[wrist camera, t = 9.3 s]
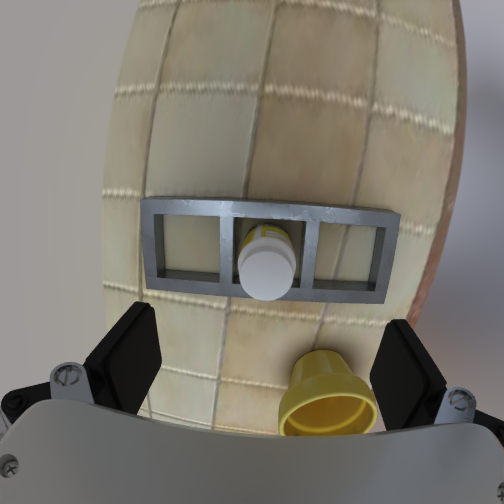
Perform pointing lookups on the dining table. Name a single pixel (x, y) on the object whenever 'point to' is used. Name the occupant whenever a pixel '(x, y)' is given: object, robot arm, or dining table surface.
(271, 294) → the supplement bottle
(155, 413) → the dining table surface
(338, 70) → the dining table surface
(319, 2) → the dining table surface
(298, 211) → the grey long slotted tray
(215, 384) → the dining table surface
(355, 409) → the plant pot
